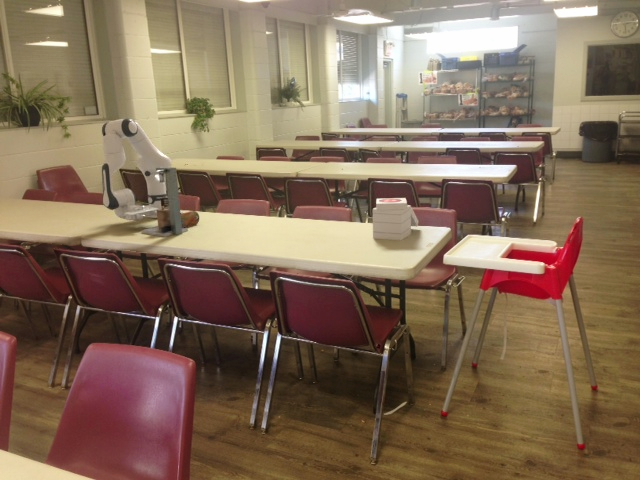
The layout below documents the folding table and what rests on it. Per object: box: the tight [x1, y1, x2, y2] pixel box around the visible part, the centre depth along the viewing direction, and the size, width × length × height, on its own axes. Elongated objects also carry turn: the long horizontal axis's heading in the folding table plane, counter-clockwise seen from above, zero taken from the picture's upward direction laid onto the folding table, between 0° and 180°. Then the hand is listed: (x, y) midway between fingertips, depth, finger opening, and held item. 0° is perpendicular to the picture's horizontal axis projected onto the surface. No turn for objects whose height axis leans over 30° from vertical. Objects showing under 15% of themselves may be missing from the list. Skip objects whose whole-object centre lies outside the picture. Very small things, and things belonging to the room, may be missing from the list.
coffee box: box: [161, 196, 169, 209], centre depth 339 cm, size 9×6×16 cm
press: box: [141, 166, 189, 238], centre depth 311 cm, size 22×22×36 cm
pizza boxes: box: [372, 197, 419, 241], centre depth 293 cm, size 19×30×18 cm, turn 153°
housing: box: [157, 206, 171, 230], centre depth 317 cm, size 5×5×13 cm
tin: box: [181, 210, 200, 228], centre depth 331 cm, size 15×3×8 cm, turn 143°
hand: (150, 215), depth 323 cm, fingers open, 8 cm apart
